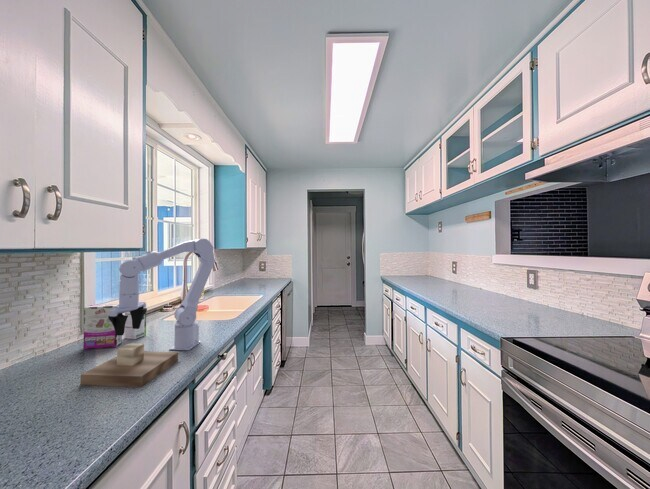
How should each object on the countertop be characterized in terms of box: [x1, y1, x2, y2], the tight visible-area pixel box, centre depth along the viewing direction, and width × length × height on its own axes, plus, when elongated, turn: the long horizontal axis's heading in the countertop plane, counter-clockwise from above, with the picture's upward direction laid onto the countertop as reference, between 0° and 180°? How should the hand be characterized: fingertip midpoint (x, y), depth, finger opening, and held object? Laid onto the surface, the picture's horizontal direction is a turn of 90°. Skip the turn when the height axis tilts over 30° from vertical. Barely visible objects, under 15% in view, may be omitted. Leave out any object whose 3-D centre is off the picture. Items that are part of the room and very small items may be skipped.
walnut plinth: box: [80, 350, 179, 388], centre depth 87 cm, size 18×18×3 cm
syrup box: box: [123, 306, 147, 340], centre depth 120 cm, size 6×6×14 cm
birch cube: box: [116, 343, 145, 366], centre depth 87 cm, size 5×5×5 cm
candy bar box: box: [83, 303, 123, 350], centre depth 108 cm, size 11×5×16 cm, turn 105°
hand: (128, 331), depth 97 cm, fingers open, 7 cm apart
